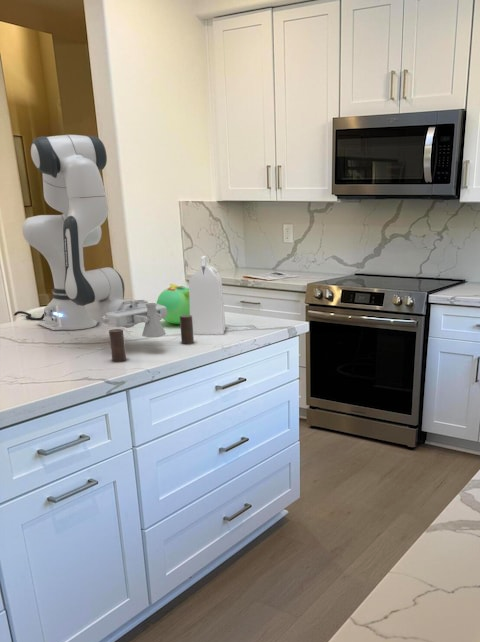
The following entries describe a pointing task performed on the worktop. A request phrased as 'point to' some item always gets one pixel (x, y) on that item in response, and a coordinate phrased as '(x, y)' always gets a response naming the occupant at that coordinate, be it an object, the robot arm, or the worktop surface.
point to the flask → (153, 323)
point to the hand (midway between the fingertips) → (154, 318)
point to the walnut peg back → (186, 329)
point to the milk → (206, 300)
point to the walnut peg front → (117, 345)
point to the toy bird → (175, 302)
